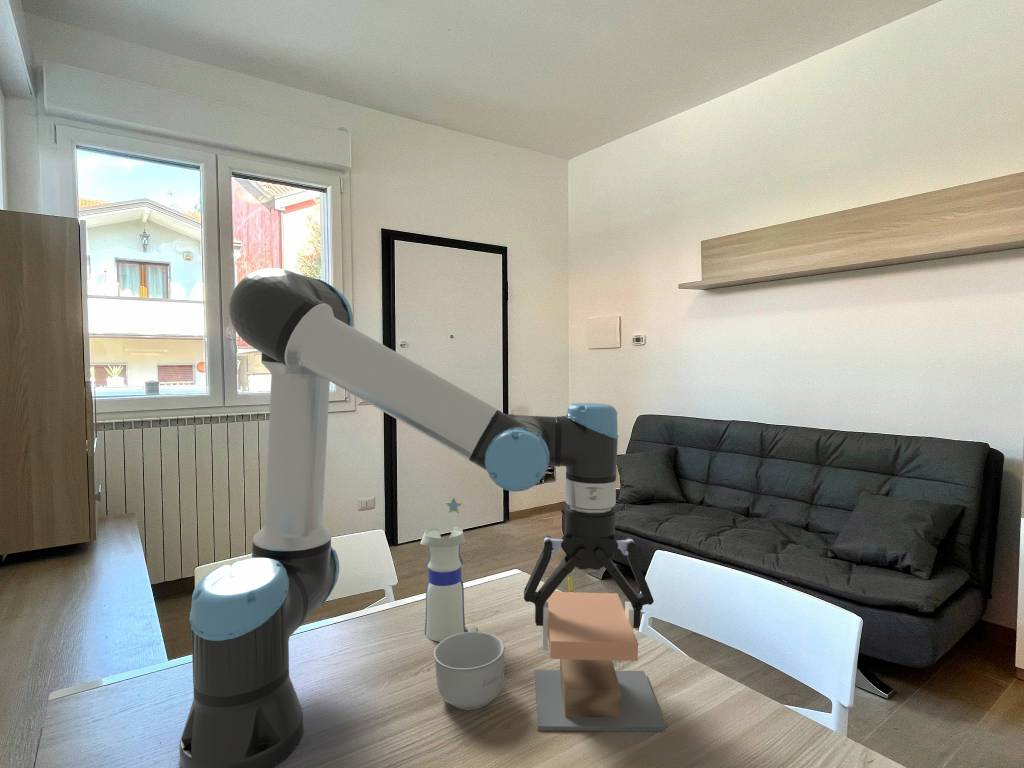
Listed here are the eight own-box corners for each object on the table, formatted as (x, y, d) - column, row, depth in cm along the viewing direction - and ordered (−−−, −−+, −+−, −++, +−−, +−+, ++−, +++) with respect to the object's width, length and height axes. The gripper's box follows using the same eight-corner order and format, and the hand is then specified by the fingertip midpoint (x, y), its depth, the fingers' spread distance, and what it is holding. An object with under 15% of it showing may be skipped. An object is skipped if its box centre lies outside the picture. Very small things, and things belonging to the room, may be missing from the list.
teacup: (495, 724, 79) (495, 670, 79) (423, 715, 82) (423, 661, 81) (514, 670, 93) (514, 624, 93) (452, 663, 95) (452, 617, 95)
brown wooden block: (565, 717, 80) (565, 690, 80) (560, 677, 90) (560, 653, 90) (620, 717, 80) (621, 690, 80) (609, 677, 90) (609, 653, 90)
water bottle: (422, 621, 110) (421, 497, 109) (465, 619, 111) (465, 496, 110) (419, 643, 102) (418, 508, 101) (466, 641, 103) (466, 507, 101)
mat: (537, 730, 78) (537, 726, 78) (534, 673, 92) (534, 670, 92) (666, 731, 78) (666, 727, 78) (643, 674, 92) (643, 670, 92)
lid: (550, 658, 77) (550, 641, 76) (544, 606, 93) (545, 591, 92) (637, 660, 76) (638, 643, 76) (617, 608, 92) (617, 593, 92)
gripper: (509, 511, 80) (506, 657, 81) (678, 515, 80) (673, 661, 81) (509, 498, 87) (507, 632, 89) (664, 501, 87) (660, 635, 88)
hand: (586, 646), depth 85 cm, fingers closed on lid, 12 cm apart
